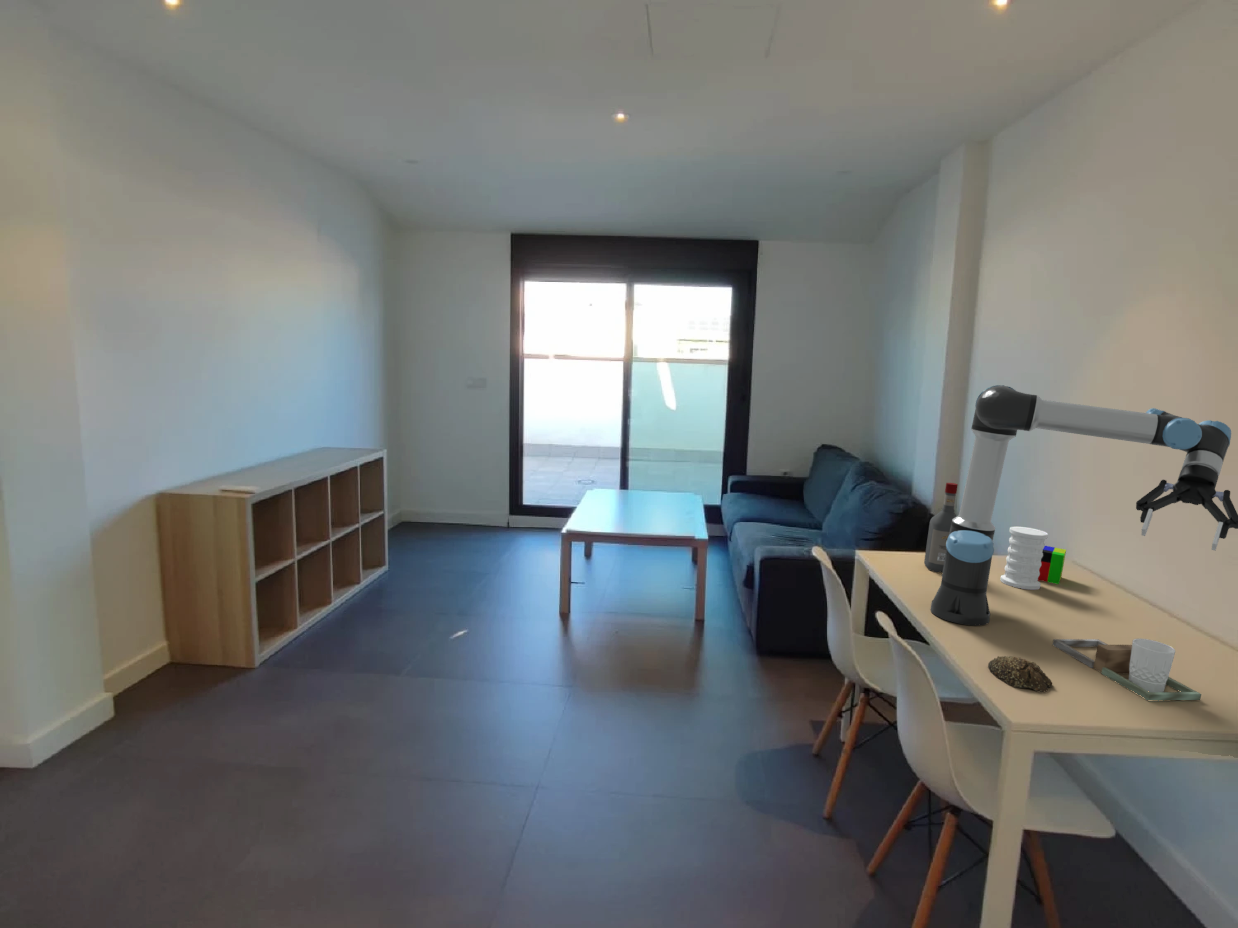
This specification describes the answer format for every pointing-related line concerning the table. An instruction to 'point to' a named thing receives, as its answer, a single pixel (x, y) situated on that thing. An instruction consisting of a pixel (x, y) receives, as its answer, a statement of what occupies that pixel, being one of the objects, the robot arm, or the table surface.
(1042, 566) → the puzzle toy
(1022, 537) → the decorative container
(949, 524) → the liquor
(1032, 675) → the bread roll
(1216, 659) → the table surface
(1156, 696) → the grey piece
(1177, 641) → the table surface
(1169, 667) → the white cup
